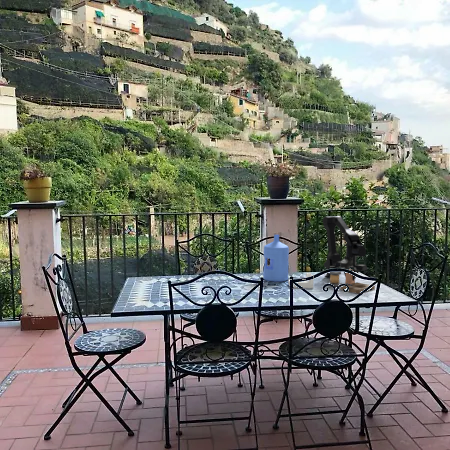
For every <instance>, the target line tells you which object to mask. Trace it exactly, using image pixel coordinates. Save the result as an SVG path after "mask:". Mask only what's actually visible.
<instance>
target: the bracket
mask: <svg viewBox="0 0 450 450" xmlns="http://www.w3.org/2000/svg"><path fill="white" fill-rule="evenodd" d="M310 276H313V277H314V275H313V274H312V273H311V272H306V274H305V278H306V277H310ZM290 280H291V279H288V280H287V281H288V283H287V284H288V285H289V286H290ZM298 284H299V285H300V286H302V287H303V288H302V289H314V278H313V279H312V280H309V281H304V282H298ZM293 289H298V288H297V287H296V286H295V285H294V288H293Z"/></svg>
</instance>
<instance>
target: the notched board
mask: <svg viewBox="0 0 450 450" xmlns="http://www.w3.org/2000/svg"><path fill="white" fill-rule="evenodd" d="M369 285H370V284H368V283H364V282H363V283H362V282H356V281H355V283H352V284H351V285H347V286H348V287H349V292H348V293H354V294H359V293H360V292H361V291H363V290H364V289H366V288H367V287H368V286H369ZM342 286H343V287H341V286H340V291H344V290H343V289H346V288H347V287H346V286H344V285H342ZM375 286H376V285H374V286H373V287H372V288H371V289H374V290H375V289H376V287H375ZM360 294H361V293H360ZM360 294H359V295H360Z"/></svg>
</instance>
